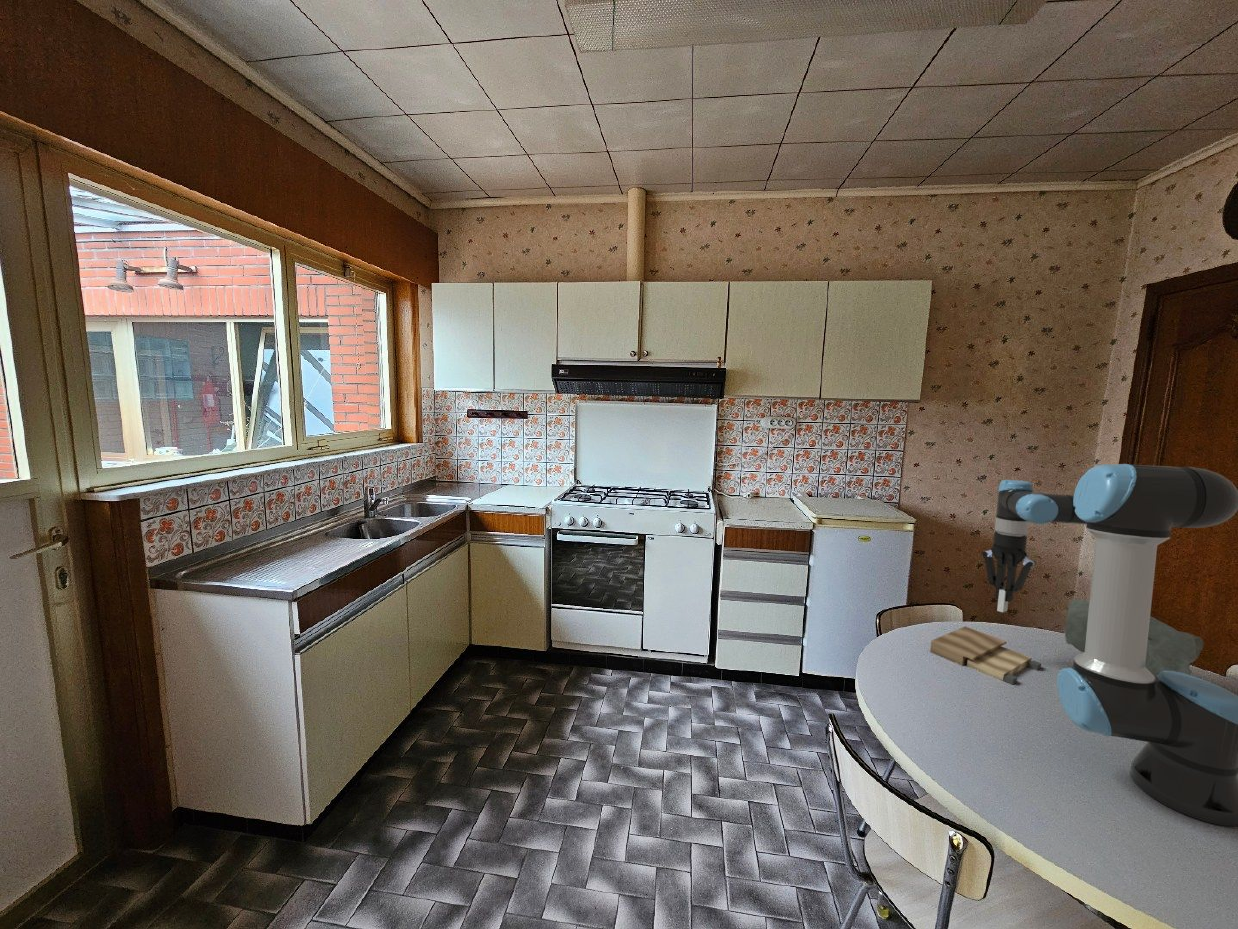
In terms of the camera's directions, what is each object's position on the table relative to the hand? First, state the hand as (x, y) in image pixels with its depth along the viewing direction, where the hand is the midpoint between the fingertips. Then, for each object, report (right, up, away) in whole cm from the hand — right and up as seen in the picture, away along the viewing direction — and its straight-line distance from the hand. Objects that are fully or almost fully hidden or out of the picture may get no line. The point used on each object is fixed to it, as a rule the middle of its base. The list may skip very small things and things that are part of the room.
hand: (1002, 610), depth 148 cm
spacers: (+1, -16, -7) cm, 18 cm away
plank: (-3, -17, -1) cm, 17 cm away
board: (-6, -14, +6) cm, 17 cm away
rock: (+30, -17, -6) cm, 35 cm away
